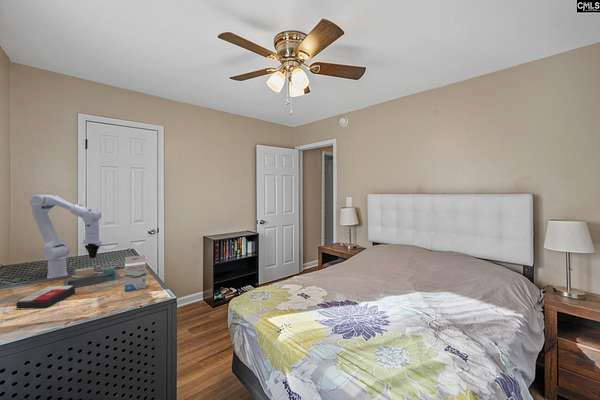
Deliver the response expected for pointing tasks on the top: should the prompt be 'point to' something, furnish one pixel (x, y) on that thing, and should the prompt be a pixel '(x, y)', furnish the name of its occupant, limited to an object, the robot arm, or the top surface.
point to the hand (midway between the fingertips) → (92, 257)
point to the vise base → (91, 280)
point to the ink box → (135, 273)
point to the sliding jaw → (104, 272)
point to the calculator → (46, 297)
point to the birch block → (84, 272)
